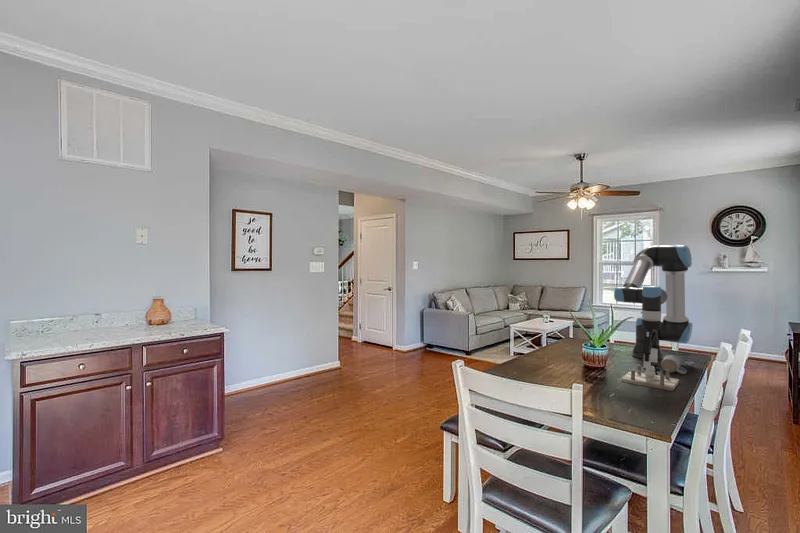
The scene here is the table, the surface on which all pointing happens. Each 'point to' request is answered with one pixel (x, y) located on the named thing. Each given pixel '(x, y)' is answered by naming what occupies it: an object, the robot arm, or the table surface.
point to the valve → (651, 373)
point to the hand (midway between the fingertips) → (650, 365)
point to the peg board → (659, 382)
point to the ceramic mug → (672, 364)
